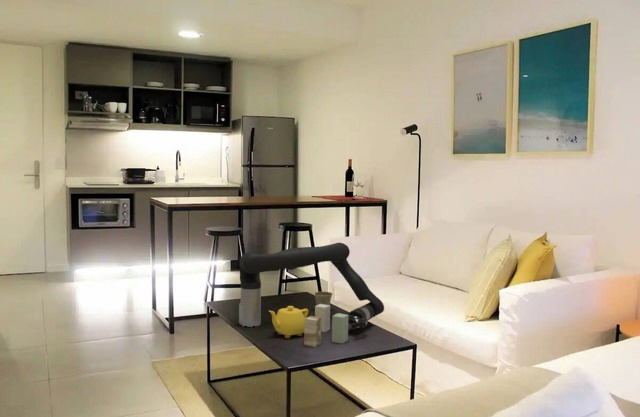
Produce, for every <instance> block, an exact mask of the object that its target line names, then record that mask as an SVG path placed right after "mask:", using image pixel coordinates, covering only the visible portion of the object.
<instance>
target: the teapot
mask: <svg viewBox="0 0 640 417" xmlns="http://www.w3.org/2000/svg"><path fill="white" fill-rule="evenodd" d="M268 312H270V314H271V322H272V325H273V327H274V329H275V331H276V332H277V335H284V338H285V339H290V338H291V336H295V335H296V336H297V337H302V336H303V333H304V329H305V318H307V317H308V314H309V309H308V308H303V309H299V308H296V307H294V306H293V305H288V306H287V307H285V308H284V307H283V308H280V309H278V311H277V313H276V312H275V311H273V310H268Z"/></svg>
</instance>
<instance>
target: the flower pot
mask: <svg viewBox="0 0 640 417" xmlns="http://www.w3.org/2000/svg"><path fill="white" fill-rule="evenodd" d="M313 294H314V298H315V304H316V305H315V306H317V305H319V304H324V305H330V306H331V299H332V296H333V292H331V291H330V292H329V291H315V292H314V293H313Z"/></svg>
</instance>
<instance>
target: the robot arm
mask: <svg viewBox="0 0 640 417" xmlns="http://www.w3.org/2000/svg"><path fill="white" fill-rule="evenodd" d="M350 252H351V251H350V248H349V246H348V245H347V244H345V243H342V242H336V243H331V244H326V245H321V246H305V247H304V246H303V247H301V246H300V247H292V248H287V249H283V250H280V251H278V252H275V253H268V254H267V253H266V254H265V253H264V254H258V253H255V252H254V251H247V252H246V251H245V252H244V253H243V254H242V255H241V257H240V259H239V281H240V302H239V303H238V324H239V325H240V326H241V325H242V326H241V327H242V328H244V326H247V327H246V328H251V327H252V328H253V326H255V327H258V326H261V321H262V320H261V314H262V313H261V312H262V311H261V310H262V308H261V306H262V305H261V304H262V281H261V276H260V273H263V272H268V271H275V270H289V269H296V268H297V269H299V268H303V267H308V266H313V265H315V264H319V263H325V262H330V263H332V265H333V266H334V267H335V268H336V269H337V271H339V273H340V274H341V276H342V277H343V278H344V280H345V281H346V283H347V284H348V285H349V287H350V289H351V290H352V292H353V293H354V294H355V296H356V298H357V299H358V301H361V302H362V301H368V303H366V304H364V305H362V306H360V307H356V308H355V309H353V310H351V311H349V312H348V314H347V315H348V326H349V325H350V326H351V329H352V330H355V329H357V328H361V329H364V328H365V327H367V326H368V321H370V320H371V319H373V318H375V317H377V316H378V315H380V314H382V313H383V312H384V311H385V306H384V305H385V304H384V303H383V301H382V300H381V299H379V297H378V296H376V295H375V293H373V292H372V291H371V289H370V288H369V287H368V285H367V284H366V281H365V280H364V279H363V278H362V277H361V276H360V274H359V273H357V272H356V270H354V268H353V267H352V266H351V265H350V263H349V261H348V258H349V256H350Z"/></svg>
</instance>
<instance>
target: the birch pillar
mask: <svg viewBox="0 0 640 417" xmlns="http://www.w3.org/2000/svg"><path fill="white" fill-rule="evenodd" d="M303 337H304V338H303V339H304V340H303V341H304V342H303V344H304V346H307V347H313V348H316V347H318V346H320V345H321V343H322V340H321V339H322V332H321V317H315V315H309V316H307V317H306V318H305V329H304V335H303Z"/></svg>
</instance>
